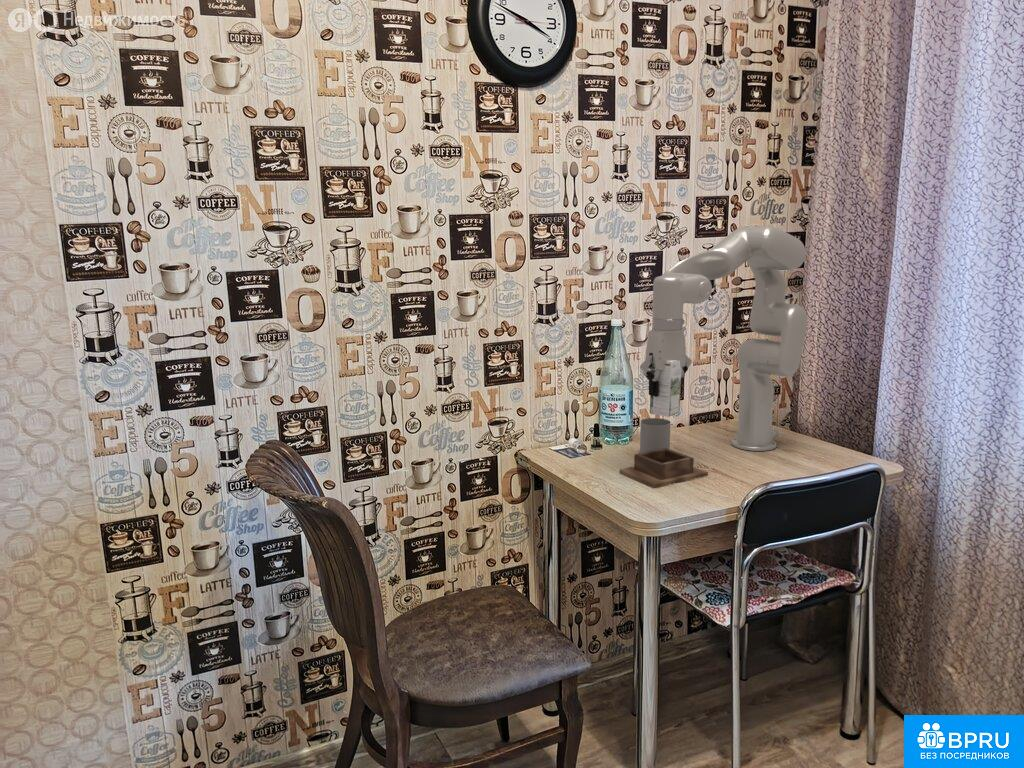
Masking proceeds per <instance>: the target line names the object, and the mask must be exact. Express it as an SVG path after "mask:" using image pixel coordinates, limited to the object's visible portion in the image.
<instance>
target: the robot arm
mask: <svg viewBox="0 0 1024 768" xmlns="http://www.w3.org/2000/svg"><path fill="white" fill-rule="evenodd" d="M806 252H807V251H806V248H805V245H804V243H803V242H802V241H801V240H800V239H799V238H797V237H795V236H793V235H792V234H790V233H789V232H787V231H784V230H782V229H780V228H778V227H774V226H770V225H751V226H750V225H747V226H741V227H738V228H736V229H734V230H733V231H732V232H731V233H730V234H728V235H727V236H725V237H723V239H722V240H720V241H719V242H718V243H716V244H715V245H714V246H713V247H712V248H710V249H708V250H704V251H702V252H699V253H697V254H694V255H693V256H692V255H691V256H690V257H687V258H684V259H683V260H679V261H678V262H677V263H675V264H673V265H672V266H671V267H669V268H668V269H667V270H666V271H665V272H664V273H663V274H662V275H660V276H656V277H655V278H654V279H653V284H652V285H653V286H652V287H653V288H652V325H651V330H649V332H648V335H647V341H646V346H645V347H646V348H645V357H644V361H643V362H642V364H640V367H639V368H640V371H641V372H642V373H643V375H644V376H645V378H646V380H648V395H649V396H650V395H651V396H655V397H658V396H659V381H657V379H658V377H659V374H660V372H661V371H663V370H665V365H666V361H671V360H678V361H679V360H680V367H681V389H680V394H681V393H683V378H685V376H686V373H687V371H689V367H690V366H691V364H692V363H693V362H692V359H691V358H690V357H689V356H688V355H687V350H686V349H687V347H686V337H685V330H684V329H683V326H684V324H685V320H684V318H683V317H684V304H692V305H694V304H696V305H698V304H702V303H704V302H705V301H707V300H708V299H709V298H710V296H711V294H712V290H713V285H712V282H711V281H712V280H718V279H722V278H726V277H728V276H729V275H731V274H733V273H734V272H735V271H736V270H737V269H739V268H740V267H741V266H742V265H744V263H747V264H748V266H749V268H750V270H751V272H752V274H753V277H754V282H755V287H754V288H755V289H754V295H753V300H752V306H751V311H750V316H749V327H750V330H751V331H752V332H753V333H755V334H758V335H763V336H771V337H780V341H777V340H771V339H763V338H749V339H746V340H744V341H743V342H742V343H741V344H740V345H739V347H738V349H737V363H738V371H739V393H738V394H739V395H738V415H737V417H738V418H737V436H735V437H733V438H732V439H731V446H733V447H735V448H737V449H740V450H746V451H751V452H752V451H753V452H754V451H755V452H766V451H771V450H774V449H776V448H777V442H776V441H775V440H774V438H775V437H778V436H781V435H782V434H783V431H782V430H781V429H780V428H778V429H773V412H774V411H773V409H774V394H775V387H774V383H773V379H772V377H771V375H772V376H777V377H779V376H780V377H791V376H793V375H794V374H796V372H797V371H798V368H799V367H800V364H801V361H802V360H801V359H802V355H803V349H804V344H805V340H806V339H805V338H806V336H807V335H806V334H807V328H808V316H807V312H806V309H804V307H802V306H801V305H799V304H796V303H786V295H787V281H786V279H785V277H784V274H783V273H782V271H785V270H786V271H793V270H796V269H799V268H800V267H801V266H802V265H803V263H804V262H805V259H806ZM652 362H653V363H654V365H655V368H653V364H652ZM654 371H655V373H654ZM653 373H654V375H653Z"/></svg>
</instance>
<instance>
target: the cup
mask: <svg viewBox="0 0 1024 768" xmlns="http://www.w3.org/2000/svg"><path fill="white" fill-rule="evenodd" d="M639 433H640V435H639V436H640V437H639V453H644V452H649V451H654V450H658V449H663V448H667V449H670V448H671V421H670V420H669V419H666V418H659V417H658V418H657V417H650V418H649V417H648V418H643V419H641V420H640V431H639ZM670 450H671V449H670Z"/></svg>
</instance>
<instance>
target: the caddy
mask: <svg viewBox="0 0 1024 768" xmlns="http://www.w3.org/2000/svg"><path fill="white" fill-rule="evenodd" d="M633 460H634V462H633V463H634V465H633V466H630V467H625V468H620V469H619V474H621V475H623V476H625V477H627V478H630V479H632V480H634V481H636V482H638V483H641V484H644V485H646V486H649V487H650V488H653V489H658V488H661V486H662V487H666V486H670V485H669V484H671V485H675V484H679V483H683V482H687V480H688V481H692V480H695V478H696V479H699V477H700V478H704V476H705V477H708V476H709V472H708V471H706V470H703V469H700V468H698V467H695V466H694V464H695V463H694V462H695V461H694V460H695V458H694V457H692V456H689V455H686V454H683V453H681V452H678V451H676V450H673V449H667V448H663V449H658V450H654V451H649V452H644V453H640V452H639V453H635V454H634V459H633ZM691 479H692V480H691ZM678 482H679V483H678ZM674 483H675V484H674ZM665 485H666V486H665ZM657 487H658V488H657Z"/></svg>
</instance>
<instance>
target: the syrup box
mask: <svg viewBox="0 0 1024 768" xmlns="http://www.w3.org/2000/svg"><path fill="white" fill-rule="evenodd" d="M652 364H653V368H655V365H654V363H653V362H652ZM654 373H655V371H654ZM654 373H653V375H654ZM657 381H659V396H658V397H655V396H651V395H649V398H650V399H649V401H650V402H649V414H650V415H655V416H662V417H672V416H674V415H676V414H679V413H680V411H681V409H680V407H681V393H680V389H681V367H680V360H679V361H678V360H671V361H666V365H665V370H663V371H661V372H660V374H659V377H658V379H657Z"/></svg>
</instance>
